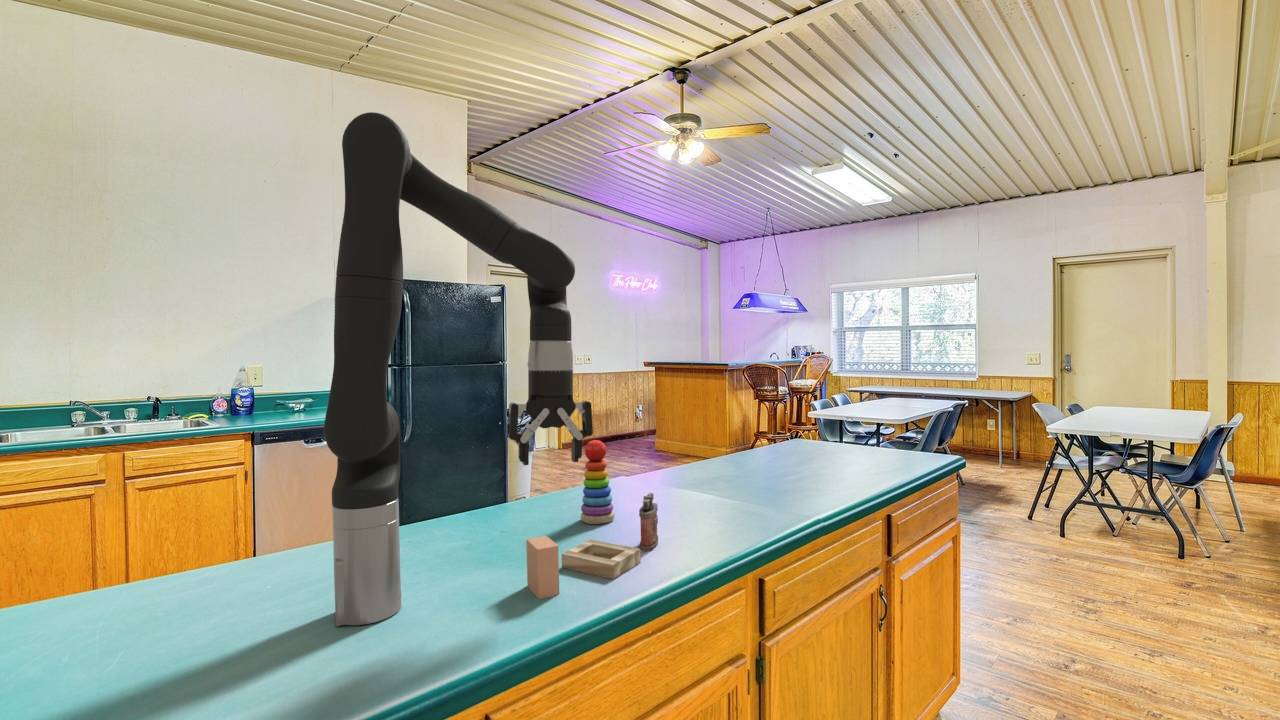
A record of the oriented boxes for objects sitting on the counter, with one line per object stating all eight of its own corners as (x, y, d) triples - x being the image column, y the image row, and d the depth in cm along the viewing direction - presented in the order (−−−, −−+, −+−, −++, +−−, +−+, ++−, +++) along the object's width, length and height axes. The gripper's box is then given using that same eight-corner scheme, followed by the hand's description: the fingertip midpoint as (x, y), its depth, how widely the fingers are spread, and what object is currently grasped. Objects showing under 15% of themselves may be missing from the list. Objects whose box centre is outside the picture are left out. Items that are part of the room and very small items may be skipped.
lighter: (654, 551, 113) (652, 501, 113) (637, 551, 114) (636, 500, 113) (660, 538, 121) (659, 491, 121) (644, 537, 122) (643, 490, 121)
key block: (538, 599, 93) (537, 549, 92) (527, 585, 98) (526, 539, 98) (559, 594, 94) (558, 545, 94) (547, 581, 100) (546, 535, 99)
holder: (613, 579, 100) (613, 564, 100) (561, 567, 106) (561, 553, 106) (640, 562, 108) (640, 549, 107) (590, 552, 114) (590, 539, 113)
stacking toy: (621, 518, 136) (619, 439, 136) (601, 527, 129) (599, 444, 129) (594, 513, 140) (592, 437, 140) (573, 522, 134) (571, 441, 133)
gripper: (511, 368, 92) (511, 470, 92) (597, 368, 97) (597, 464, 97) (505, 367, 99) (505, 461, 99) (585, 367, 104) (585, 456, 104)
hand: (550, 463), depth 98 cm, fingers open, 8 cm apart
